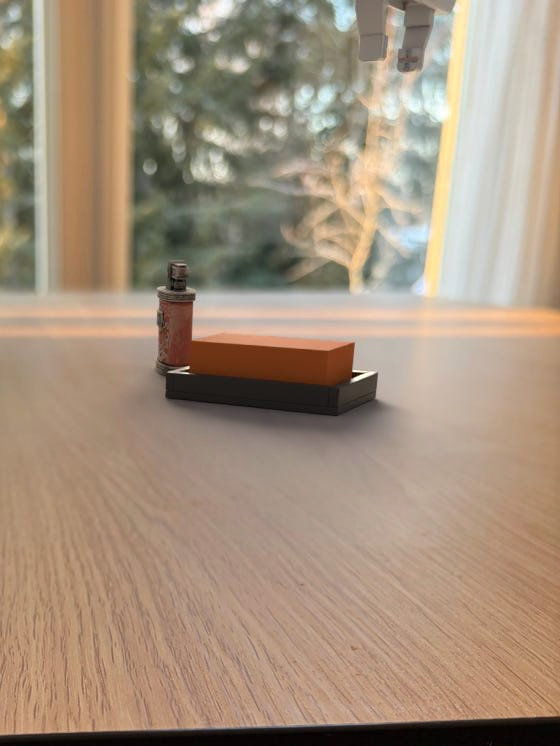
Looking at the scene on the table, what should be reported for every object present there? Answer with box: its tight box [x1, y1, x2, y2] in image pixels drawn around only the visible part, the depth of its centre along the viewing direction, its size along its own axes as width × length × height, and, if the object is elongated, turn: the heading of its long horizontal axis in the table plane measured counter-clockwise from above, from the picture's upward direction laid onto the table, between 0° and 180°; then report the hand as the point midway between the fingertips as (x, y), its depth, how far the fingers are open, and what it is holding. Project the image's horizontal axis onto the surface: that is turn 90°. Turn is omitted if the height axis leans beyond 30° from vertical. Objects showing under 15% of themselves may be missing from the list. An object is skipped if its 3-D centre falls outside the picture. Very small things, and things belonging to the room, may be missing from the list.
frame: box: [164, 366, 379, 416], centre depth 88 cm, size 15×9×2 cm, turn 57°
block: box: [189, 332, 356, 386], centre depth 87 cm, size 12×6×4 cm, turn 57°
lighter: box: [155, 260, 197, 376], centre depth 100 cm, size 8×3×10 cm, turn 4°
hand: (391, 67), depth 85 cm, fingers open, 8 cm apart
